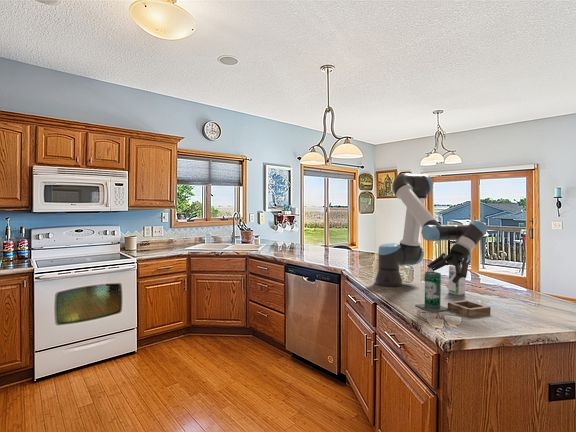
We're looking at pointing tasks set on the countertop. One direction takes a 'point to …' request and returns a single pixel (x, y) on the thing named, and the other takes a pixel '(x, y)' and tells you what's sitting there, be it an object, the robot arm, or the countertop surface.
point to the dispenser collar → (469, 308)
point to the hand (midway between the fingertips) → (435, 284)
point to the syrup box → (460, 285)
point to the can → (432, 290)
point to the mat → (432, 309)
